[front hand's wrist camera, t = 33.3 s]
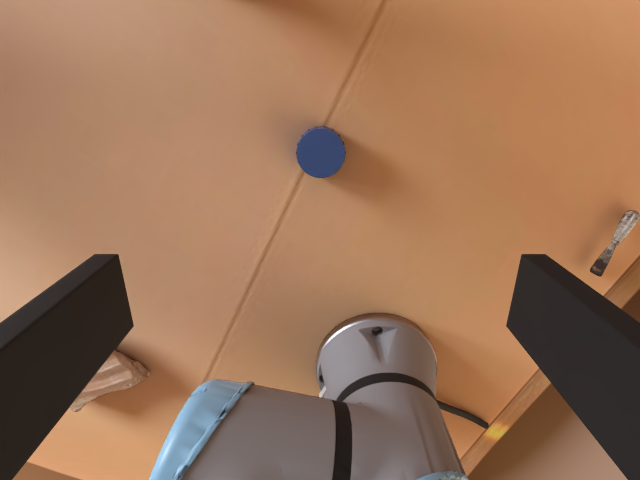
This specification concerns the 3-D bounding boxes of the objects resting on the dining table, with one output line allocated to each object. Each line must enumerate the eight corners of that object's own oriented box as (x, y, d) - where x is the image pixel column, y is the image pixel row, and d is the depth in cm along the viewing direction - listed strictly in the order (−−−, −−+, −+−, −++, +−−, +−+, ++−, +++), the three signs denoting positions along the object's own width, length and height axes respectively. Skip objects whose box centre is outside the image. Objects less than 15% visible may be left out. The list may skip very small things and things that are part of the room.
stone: (81, 308, 46) (68, 320, 44) (153, 370, 50) (145, 384, 47) (17, 359, 49) (2, 373, 47) (89, 414, 53) (78, 430, 50)
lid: (339, 121, 38) (341, 123, 36) (347, 169, 40) (349, 173, 38) (292, 130, 39) (291, 133, 37) (302, 178, 41) (301, 182, 38)
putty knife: (634, 210, 42) (646, 214, 40) (594, 272, 44) (604, 278, 43) (626, 207, 42) (638, 212, 40) (586, 270, 44) (596, 276, 43)
